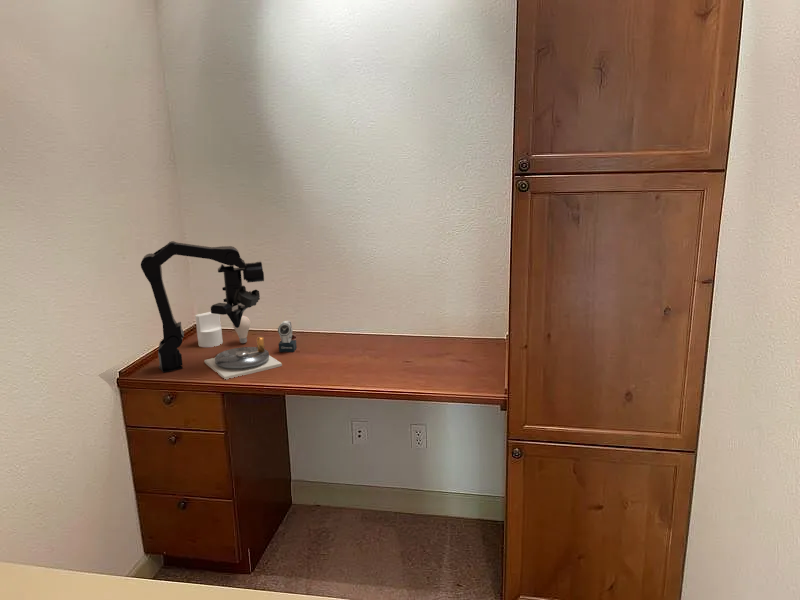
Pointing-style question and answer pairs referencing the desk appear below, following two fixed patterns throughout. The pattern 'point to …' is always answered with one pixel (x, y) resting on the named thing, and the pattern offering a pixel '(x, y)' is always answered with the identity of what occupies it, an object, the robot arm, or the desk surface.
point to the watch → (286, 337)
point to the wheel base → (233, 373)
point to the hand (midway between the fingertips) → (237, 327)
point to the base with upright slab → (209, 329)
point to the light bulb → (243, 329)
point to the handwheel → (243, 356)
